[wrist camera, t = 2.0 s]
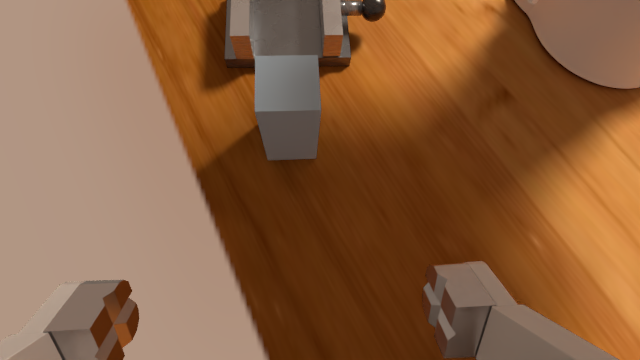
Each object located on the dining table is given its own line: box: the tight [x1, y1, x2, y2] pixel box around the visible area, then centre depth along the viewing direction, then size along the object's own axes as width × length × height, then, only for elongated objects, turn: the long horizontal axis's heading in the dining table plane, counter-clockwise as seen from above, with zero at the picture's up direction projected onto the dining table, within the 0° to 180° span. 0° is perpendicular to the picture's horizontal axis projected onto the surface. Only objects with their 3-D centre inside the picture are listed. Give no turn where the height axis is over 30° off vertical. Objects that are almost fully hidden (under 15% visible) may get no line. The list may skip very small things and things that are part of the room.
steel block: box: [255, 55, 321, 160], centre depth 25 cm, size 4×4×8 cm
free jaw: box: [319, 0, 386, 56], centre depth 30 cm, size 8×6×3 cm
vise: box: [225, 0, 351, 68], centre depth 30 cm, size 8×11×4 cm
